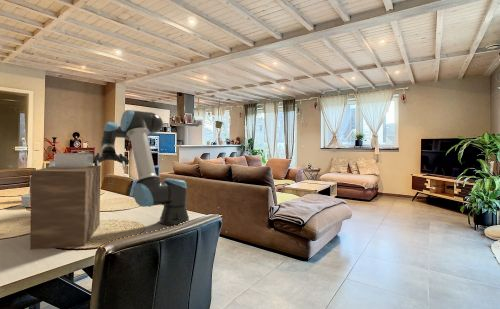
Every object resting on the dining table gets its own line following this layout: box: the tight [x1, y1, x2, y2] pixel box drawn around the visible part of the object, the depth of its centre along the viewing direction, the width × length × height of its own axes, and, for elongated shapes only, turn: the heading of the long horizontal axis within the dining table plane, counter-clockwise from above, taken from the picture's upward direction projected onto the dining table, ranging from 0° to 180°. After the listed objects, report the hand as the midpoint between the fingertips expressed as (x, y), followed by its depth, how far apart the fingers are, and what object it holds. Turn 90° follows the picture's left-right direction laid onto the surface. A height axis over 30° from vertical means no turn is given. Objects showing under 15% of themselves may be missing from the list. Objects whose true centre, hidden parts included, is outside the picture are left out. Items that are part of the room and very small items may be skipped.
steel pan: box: [54, 151, 94, 168], centre depth 133 cm, size 32×12×6 cm, turn 18°
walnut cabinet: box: [29, 165, 102, 251], centre depth 118 cm, size 28×18×30 cm, turn 18°
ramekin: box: [20, 193, 31, 208], centre depth 169 cm, size 13×13×7 cm
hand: (111, 168), depth 155 cm, fingers open, 13 cm apart
